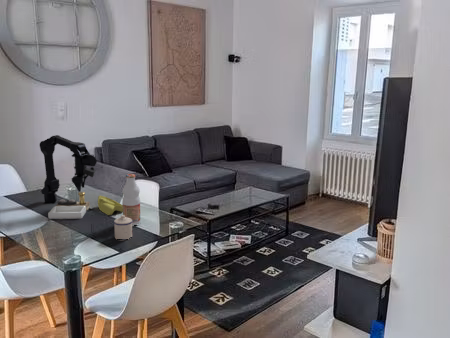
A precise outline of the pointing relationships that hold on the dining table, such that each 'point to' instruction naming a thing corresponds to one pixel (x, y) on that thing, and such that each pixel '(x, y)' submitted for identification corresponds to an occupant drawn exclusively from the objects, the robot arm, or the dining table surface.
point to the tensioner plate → (72, 203)
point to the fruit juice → (131, 200)
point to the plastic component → (108, 205)
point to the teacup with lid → (123, 227)
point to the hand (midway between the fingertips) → (81, 189)
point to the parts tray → (67, 212)
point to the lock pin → (81, 198)
